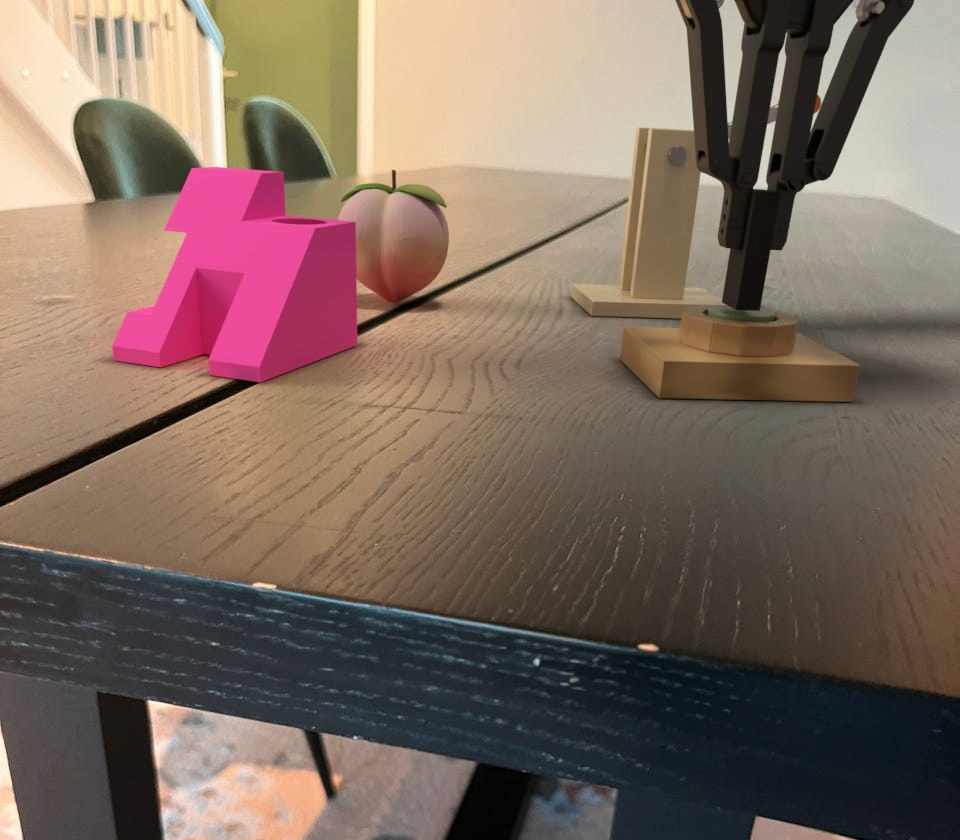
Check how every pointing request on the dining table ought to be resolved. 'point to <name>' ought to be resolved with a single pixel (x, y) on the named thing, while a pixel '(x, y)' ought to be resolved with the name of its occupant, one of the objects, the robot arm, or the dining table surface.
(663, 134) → the bracket
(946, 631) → the dining table surface
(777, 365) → the button block
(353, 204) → the decorative fruit
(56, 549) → the dining table surface
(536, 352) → the dining table surface
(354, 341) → the bracket
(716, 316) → the button
